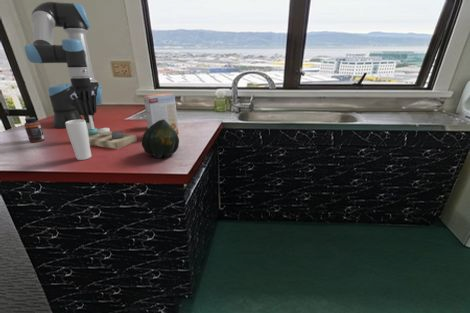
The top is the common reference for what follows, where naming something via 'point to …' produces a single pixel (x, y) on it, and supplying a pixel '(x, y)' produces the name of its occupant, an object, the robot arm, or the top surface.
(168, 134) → the squash
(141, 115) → the top surface
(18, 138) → the top surface
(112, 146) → the button panel
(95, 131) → the teal button
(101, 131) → the white button
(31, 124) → the supplement bottle
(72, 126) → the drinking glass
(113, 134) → the grey button
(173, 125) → the cracker box
